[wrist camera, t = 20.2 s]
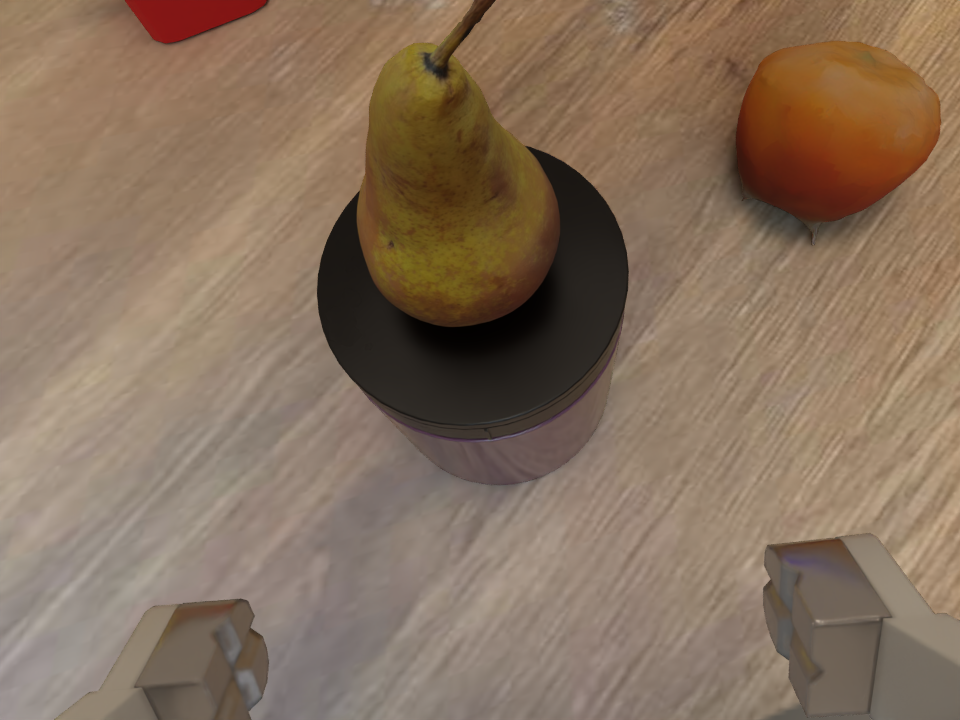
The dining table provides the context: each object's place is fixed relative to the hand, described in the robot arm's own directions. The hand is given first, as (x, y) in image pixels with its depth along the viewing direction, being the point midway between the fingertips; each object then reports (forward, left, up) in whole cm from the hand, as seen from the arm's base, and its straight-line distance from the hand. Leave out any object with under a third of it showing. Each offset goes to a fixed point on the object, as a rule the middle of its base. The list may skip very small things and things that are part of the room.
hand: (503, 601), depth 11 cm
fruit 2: (+18, -15, -20) cm, 31 cm away
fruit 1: (+10, +1, -9) cm, 13 cm away
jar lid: (+10, +1, -9) cm, 13 cm away
